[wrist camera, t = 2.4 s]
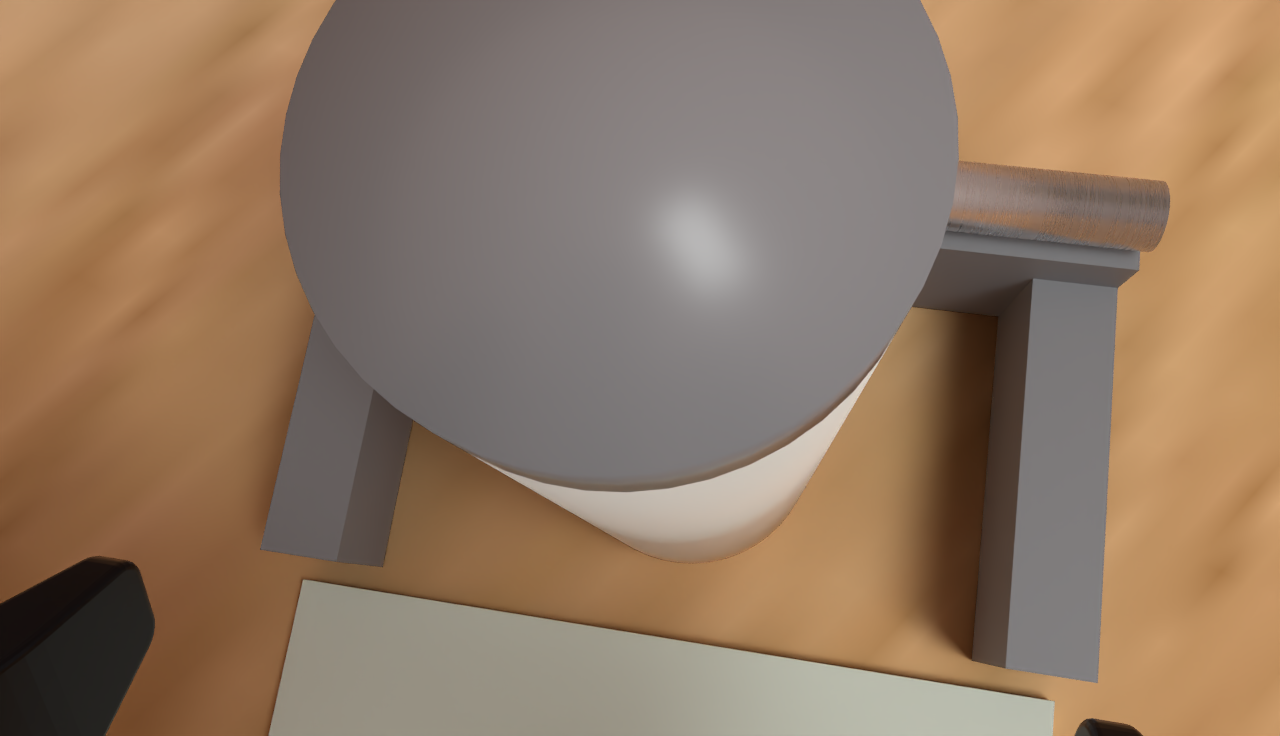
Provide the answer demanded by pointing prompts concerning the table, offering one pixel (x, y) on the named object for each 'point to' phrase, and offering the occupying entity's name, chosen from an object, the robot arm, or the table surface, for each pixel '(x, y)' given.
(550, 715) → the sage mat
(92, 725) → the robot arm
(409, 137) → the grey capped tube
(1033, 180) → the dispenser rack
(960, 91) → the table surface
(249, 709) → the table surface
